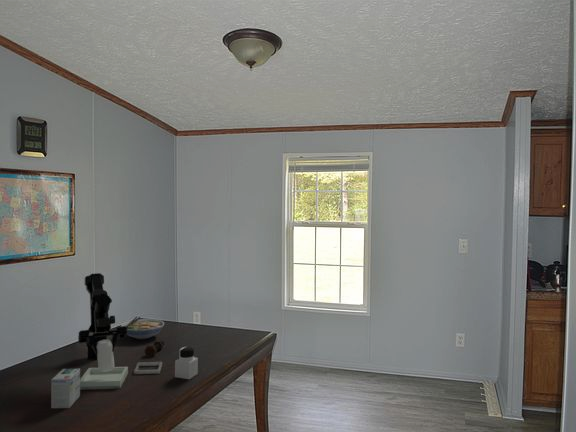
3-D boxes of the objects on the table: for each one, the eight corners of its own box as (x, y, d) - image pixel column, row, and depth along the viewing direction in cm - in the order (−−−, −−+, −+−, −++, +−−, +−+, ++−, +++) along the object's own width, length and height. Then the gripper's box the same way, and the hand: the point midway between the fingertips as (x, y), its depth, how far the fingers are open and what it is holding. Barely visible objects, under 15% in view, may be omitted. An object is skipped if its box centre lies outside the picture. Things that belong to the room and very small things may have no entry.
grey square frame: (133, 374, 200) (133, 370, 200) (138, 365, 210) (138, 362, 210) (159, 373, 202) (159, 370, 202) (162, 365, 212) (162, 361, 212)
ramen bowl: (157, 345, 241) (157, 329, 241) (113, 344, 242) (113, 328, 241) (169, 331, 266) (170, 317, 266) (130, 330, 267) (130, 316, 266)
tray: (77, 389, 183) (77, 382, 183) (88, 374, 198) (88, 367, 198) (120, 388, 185) (120, 380, 185) (127, 373, 201) (128, 366, 201)
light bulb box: (62, 396, 177) (62, 368, 176) (80, 396, 177) (80, 367, 177) (50, 408, 166) (50, 378, 166) (70, 408, 167) (70, 378, 166)
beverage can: (95, 372, 190) (92, 343, 190) (106, 366, 196) (103, 338, 195) (107, 373, 188) (104, 344, 187) (118, 367, 194) (115, 339, 193)
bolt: (162, 350, 238) (151, 359, 223) (154, 345, 239) (142, 353, 224) (168, 341, 238) (157, 349, 223) (160, 335, 238) (148, 343, 223)
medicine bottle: (197, 374, 202) (198, 346, 202) (189, 379, 195) (189, 351, 195) (183, 371, 204) (183, 344, 204) (174, 377, 197) (174, 349, 197)
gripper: (79, 311, 190) (81, 346, 181) (126, 307, 199) (131, 340, 190) (77, 325, 197) (79, 359, 188) (123, 321, 206) (127, 353, 197)
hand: (104, 352), depth 190 cm, fingers closed on beverage can, 6 cm apart
